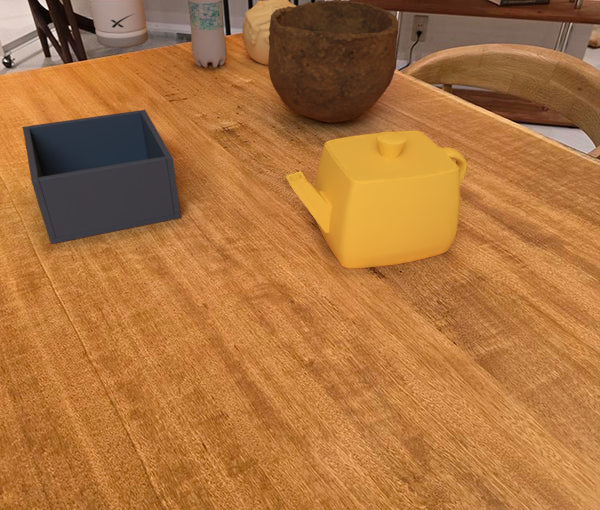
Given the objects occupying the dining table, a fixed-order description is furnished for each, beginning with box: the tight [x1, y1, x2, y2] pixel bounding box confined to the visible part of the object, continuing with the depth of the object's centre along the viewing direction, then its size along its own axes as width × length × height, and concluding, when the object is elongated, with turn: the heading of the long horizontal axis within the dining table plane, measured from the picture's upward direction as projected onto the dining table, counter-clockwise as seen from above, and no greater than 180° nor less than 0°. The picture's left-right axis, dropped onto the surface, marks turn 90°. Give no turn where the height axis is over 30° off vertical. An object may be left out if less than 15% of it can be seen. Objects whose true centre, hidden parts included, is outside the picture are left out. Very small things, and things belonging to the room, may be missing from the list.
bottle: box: [187, 0, 227, 69], centre depth 104 cm, size 7×7×20 cm
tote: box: [22, 109, 182, 245], centre depth 69 cm, size 14×14×8 cm
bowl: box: [267, 0, 400, 123], centre depth 87 cm, size 19×19×15 cm
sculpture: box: [241, 0, 297, 66], centre depth 109 cm, size 11×12×11 cm
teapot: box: [284, 130, 468, 269], centre depth 62 cm, size 20×12×12 cm, turn 106°
